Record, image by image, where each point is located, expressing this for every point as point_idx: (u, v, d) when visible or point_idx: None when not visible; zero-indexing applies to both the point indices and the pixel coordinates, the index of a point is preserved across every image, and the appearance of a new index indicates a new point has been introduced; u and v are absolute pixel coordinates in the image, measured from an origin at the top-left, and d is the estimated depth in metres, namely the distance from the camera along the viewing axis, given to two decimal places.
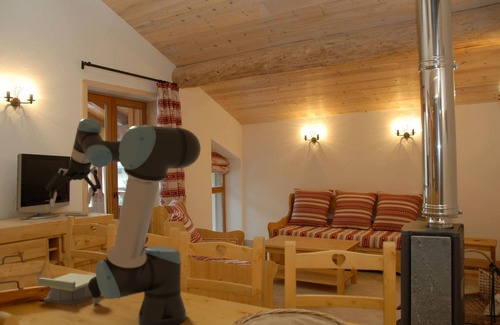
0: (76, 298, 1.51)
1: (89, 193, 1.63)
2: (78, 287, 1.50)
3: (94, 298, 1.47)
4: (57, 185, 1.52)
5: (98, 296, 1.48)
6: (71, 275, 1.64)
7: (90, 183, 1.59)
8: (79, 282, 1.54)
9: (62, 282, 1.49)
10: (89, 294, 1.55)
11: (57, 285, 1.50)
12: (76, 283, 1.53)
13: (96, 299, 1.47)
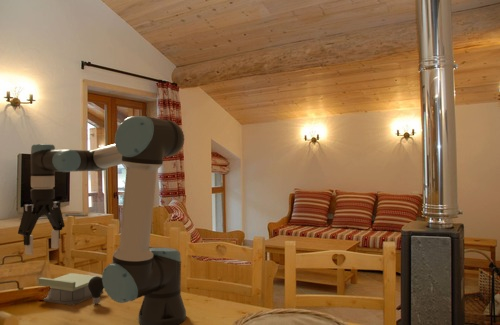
0: (76, 298, 1.51)
1: (54, 235, 1.49)
2: (78, 287, 1.50)
3: (94, 298, 1.47)
4: (30, 226, 1.39)
5: (98, 296, 1.48)
6: (71, 275, 1.64)
7: (55, 219, 1.48)
8: (79, 282, 1.54)
9: (62, 282, 1.49)
10: (89, 294, 1.55)
11: (57, 285, 1.50)
12: (76, 283, 1.53)
13: (96, 299, 1.47)
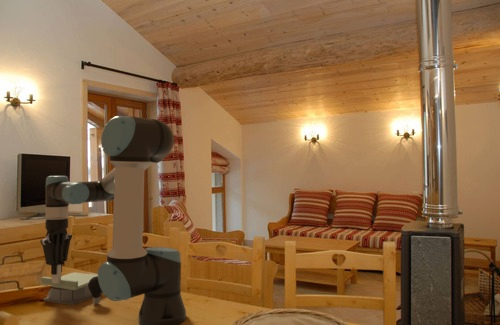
0: (76, 298, 1.51)
1: None
2: (81, 286, 1.51)
3: (94, 298, 1.47)
4: (54, 257, 1.48)
5: (98, 296, 1.48)
6: (73, 274, 1.65)
7: (62, 251, 1.51)
8: (81, 281, 1.56)
9: (65, 281, 1.50)
10: (89, 294, 1.55)
11: (60, 284, 1.51)
12: (78, 282, 1.54)
13: (96, 299, 1.47)
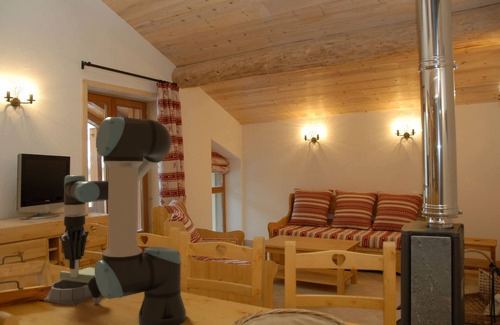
0: (76, 298, 1.51)
1: None
2: None
3: (94, 298, 1.47)
4: (72, 252, 1.57)
5: (98, 296, 1.48)
6: (89, 269, 1.73)
7: (79, 247, 1.59)
8: None
9: (82, 275, 1.58)
10: (89, 294, 1.55)
11: (77, 278, 1.59)
12: None
13: (96, 299, 1.47)
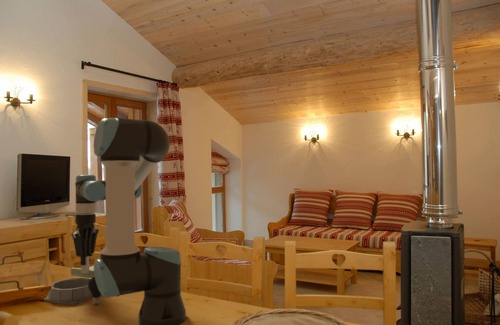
0: (76, 298, 1.51)
1: None
2: None
3: (94, 298, 1.47)
4: (83, 249, 1.62)
5: (98, 296, 1.48)
6: None
7: (90, 244, 1.65)
8: None
9: (93, 271, 1.64)
10: (89, 294, 1.55)
11: (88, 274, 1.64)
12: None
13: (96, 299, 1.47)
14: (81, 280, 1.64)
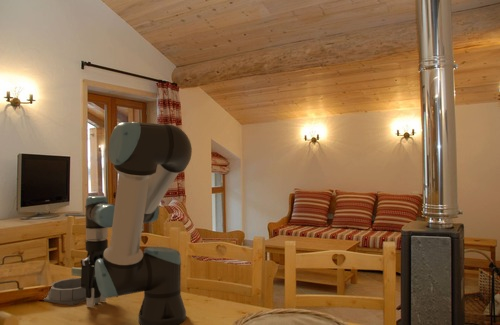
0: (76, 298, 1.51)
1: None
2: None
3: (94, 298, 1.47)
4: (90, 279, 1.45)
5: (98, 296, 1.48)
6: None
7: None
8: None
9: None
10: None
11: None
12: None
13: (96, 299, 1.47)
14: None
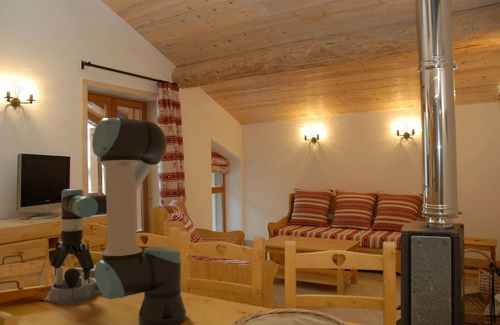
0: (76, 298, 1.51)
1: None
2: None
3: None
4: None
5: (68, 286, 1.56)
6: None
7: (79, 260, 1.55)
8: None
9: (93, 271, 1.64)
10: (89, 294, 1.55)
11: (89, 274, 1.65)
12: None
13: None
14: None
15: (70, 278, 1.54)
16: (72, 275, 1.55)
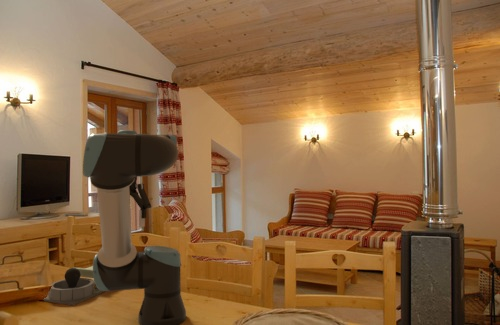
0: (76, 298, 1.51)
1: None
2: None
3: None
4: None
5: (68, 286, 1.56)
6: None
7: (136, 200, 1.55)
8: None
9: None
10: (89, 294, 1.55)
11: (89, 274, 1.65)
12: None
13: (69, 288, 1.57)
14: (81, 280, 1.64)
15: (70, 277, 1.55)
16: (73, 275, 1.55)
